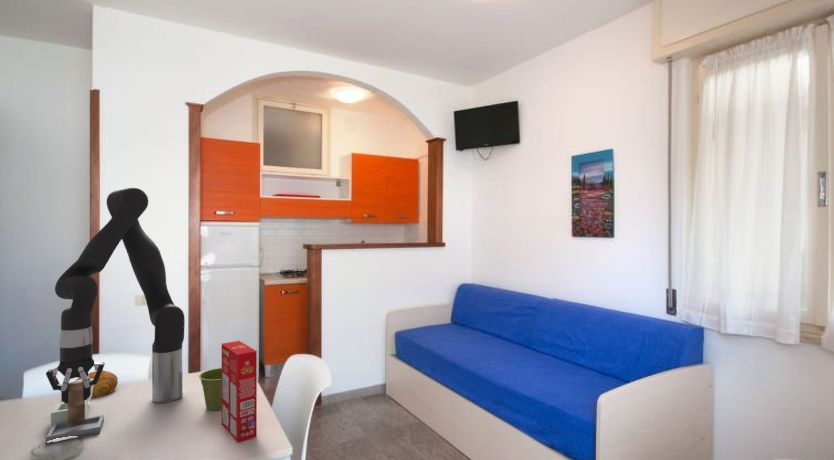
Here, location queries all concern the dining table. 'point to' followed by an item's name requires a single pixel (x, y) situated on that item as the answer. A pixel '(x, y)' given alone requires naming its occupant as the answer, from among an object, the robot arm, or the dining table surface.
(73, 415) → the wooden dowel
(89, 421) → the tray
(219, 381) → the plant pot
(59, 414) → the pot
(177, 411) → the dining table surface
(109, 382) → the croissant
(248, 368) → the food packaging
